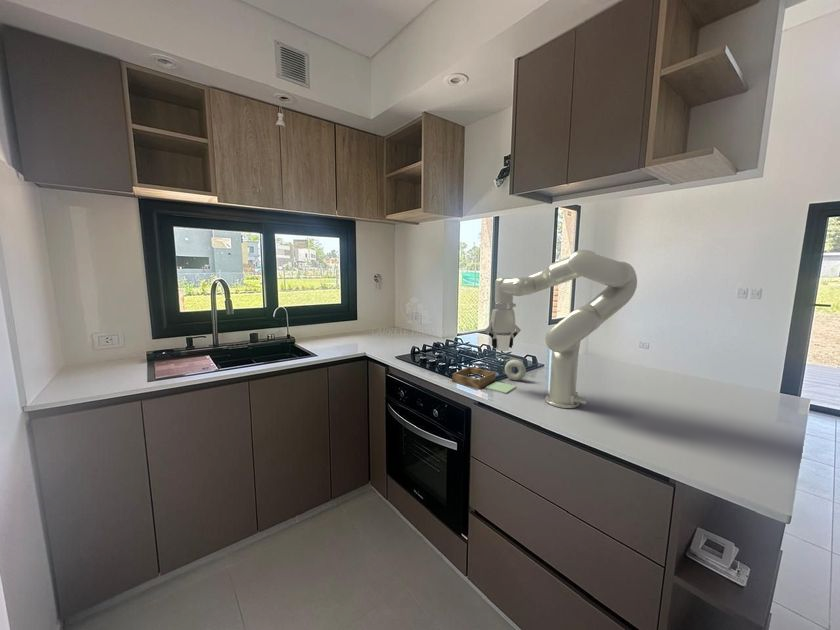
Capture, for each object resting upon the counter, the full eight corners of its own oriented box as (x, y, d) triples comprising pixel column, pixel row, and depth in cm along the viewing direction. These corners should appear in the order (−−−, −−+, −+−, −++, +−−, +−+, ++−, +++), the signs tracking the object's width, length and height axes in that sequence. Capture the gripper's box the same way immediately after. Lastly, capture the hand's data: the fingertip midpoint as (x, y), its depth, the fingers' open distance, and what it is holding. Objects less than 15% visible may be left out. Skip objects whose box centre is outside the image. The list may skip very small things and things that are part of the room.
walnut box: (495, 380, 160) (495, 372, 159) (479, 389, 149) (479, 380, 148) (468, 374, 169) (469, 366, 169) (452, 381, 158) (452, 373, 158)
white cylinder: (498, 346, 152) (499, 331, 151) (512, 349, 148) (513, 333, 147) (491, 349, 147) (491, 334, 146) (506, 352, 143) (506, 336, 142)
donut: (526, 380, 159) (527, 360, 158) (524, 383, 156) (525, 362, 155) (505, 377, 165) (506, 357, 163) (503, 379, 162) (503, 359, 160)
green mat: (516, 387, 151) (516, 386, 151) (506, 393, 143) (506, 392, 143) (496, 382, 157) (496, 381, 157) (485, 388, 150) (485, 387, 149)
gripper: (519, 305, 149) (518, 345, 152) (481, 305, 148) (480, 345, 150) (526, 307, 142) (524, 349, 144) (486, 307, 141) (485, 349, 143)
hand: (502, 347), depth 147 cm, fingers closed on white cylinder, 6 cm apart
